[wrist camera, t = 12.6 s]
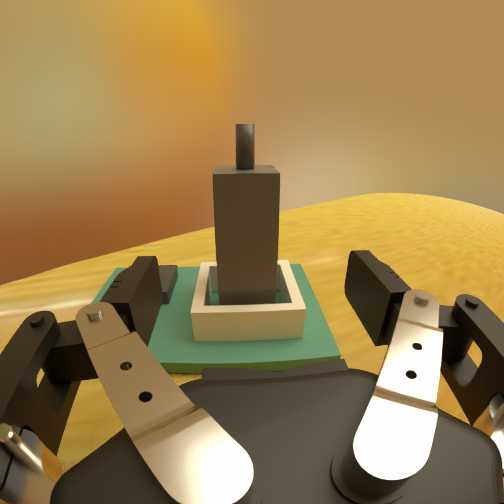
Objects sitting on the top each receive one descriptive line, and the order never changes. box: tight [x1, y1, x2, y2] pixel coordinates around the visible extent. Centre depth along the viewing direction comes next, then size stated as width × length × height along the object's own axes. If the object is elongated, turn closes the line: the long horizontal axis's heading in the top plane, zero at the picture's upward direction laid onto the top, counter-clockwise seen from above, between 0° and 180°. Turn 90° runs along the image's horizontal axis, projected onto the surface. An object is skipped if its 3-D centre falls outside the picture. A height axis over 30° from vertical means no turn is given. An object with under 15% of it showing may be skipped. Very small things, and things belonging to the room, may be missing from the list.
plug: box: [213, 124, 280, 306], centre depth 21 cm, size 4×5×14 cm
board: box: [91, 260, 341, 374], centre depth 24 cm, size 20×14×4 cm
